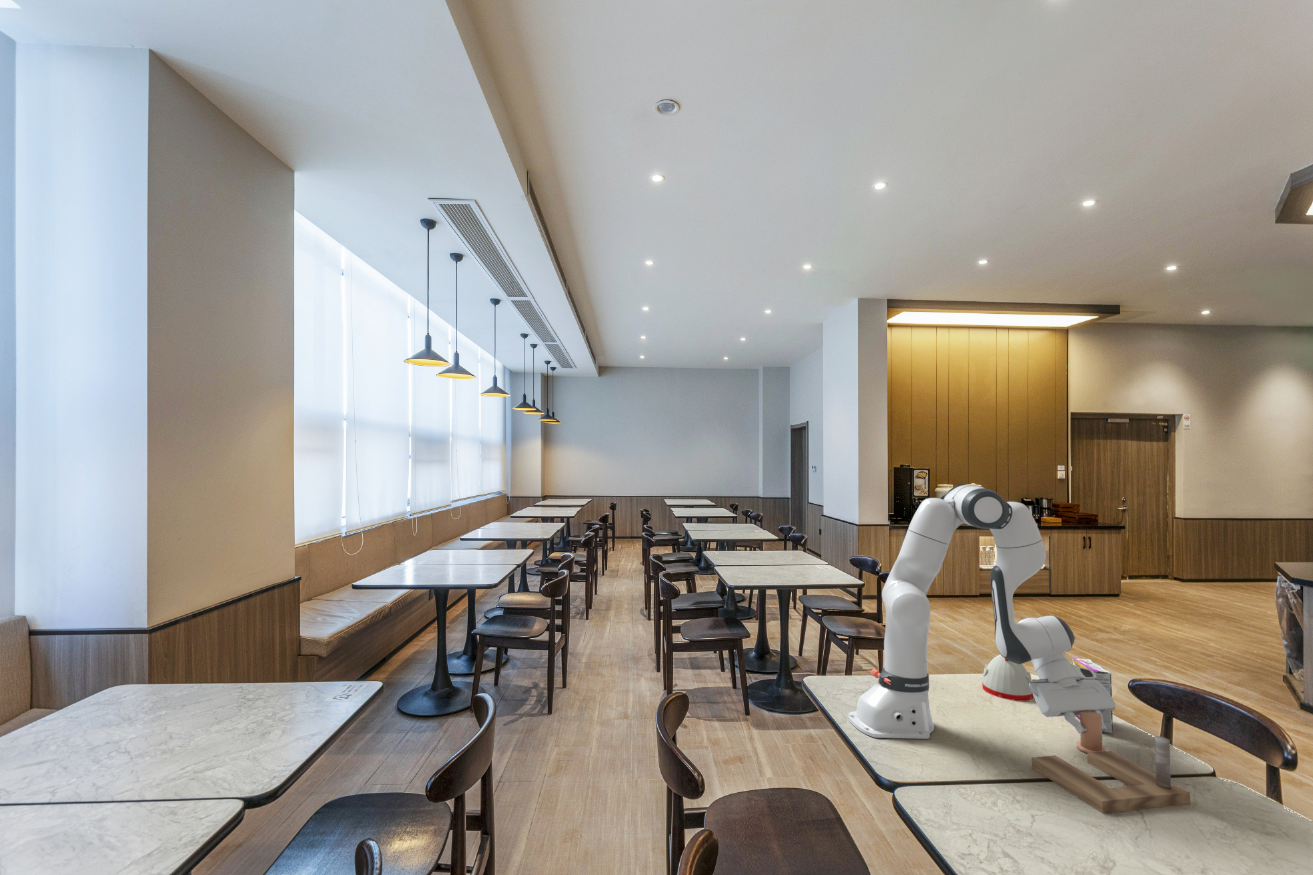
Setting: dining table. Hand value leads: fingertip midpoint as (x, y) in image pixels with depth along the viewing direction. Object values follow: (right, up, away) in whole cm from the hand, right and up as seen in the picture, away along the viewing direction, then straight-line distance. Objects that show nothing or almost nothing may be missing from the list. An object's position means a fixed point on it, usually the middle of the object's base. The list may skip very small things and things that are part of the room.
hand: (1093, 731), depth 146 cm
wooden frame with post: (-8, -4, -15) cm, 18 cm away
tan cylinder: (0, -5, 0) cm, 5 cm away
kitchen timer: (+2, -7, +38) cm, 39 cm away
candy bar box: (+12, -6, +16) cm, 20 cm away
